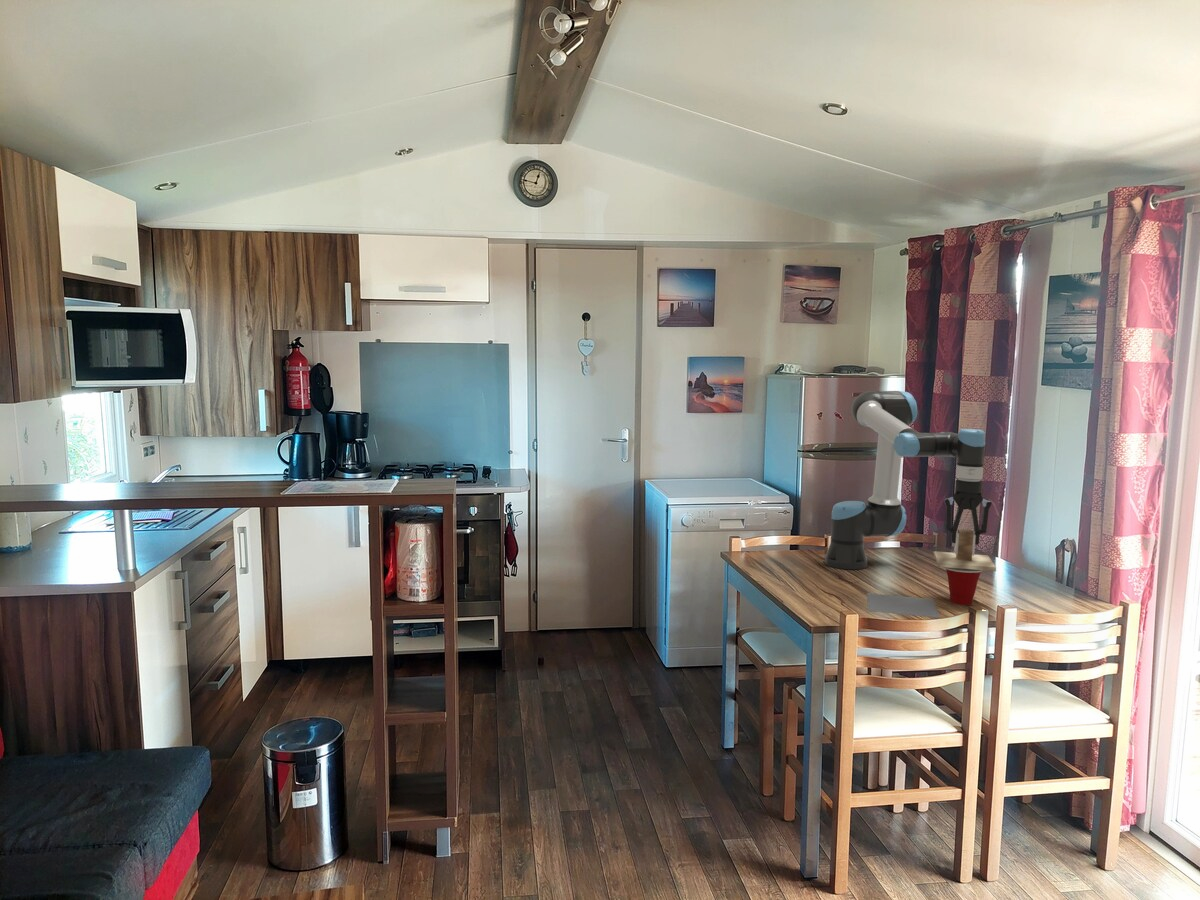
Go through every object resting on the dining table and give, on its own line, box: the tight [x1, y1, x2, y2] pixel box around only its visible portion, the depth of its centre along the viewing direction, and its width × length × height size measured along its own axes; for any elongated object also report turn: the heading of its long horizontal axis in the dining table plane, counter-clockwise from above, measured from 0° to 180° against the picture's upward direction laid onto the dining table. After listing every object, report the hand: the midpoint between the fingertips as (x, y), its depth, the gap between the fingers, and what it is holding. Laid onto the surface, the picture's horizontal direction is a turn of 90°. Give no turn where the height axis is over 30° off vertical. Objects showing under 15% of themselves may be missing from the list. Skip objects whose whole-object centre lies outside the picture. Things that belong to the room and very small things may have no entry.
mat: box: [866, 592, 941, 619], centre depth 255 cm, size 20×20×1 cm
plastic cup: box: [944, 567, 983, 606], centre depth 258 cm, size 11×11×12 cm
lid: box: [933, 528, 997, 572], centre depth 257 cm, size 16×16×10 cm
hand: (964, 553), depth 257 cm, fingers closed on lid, 4 cm apart
